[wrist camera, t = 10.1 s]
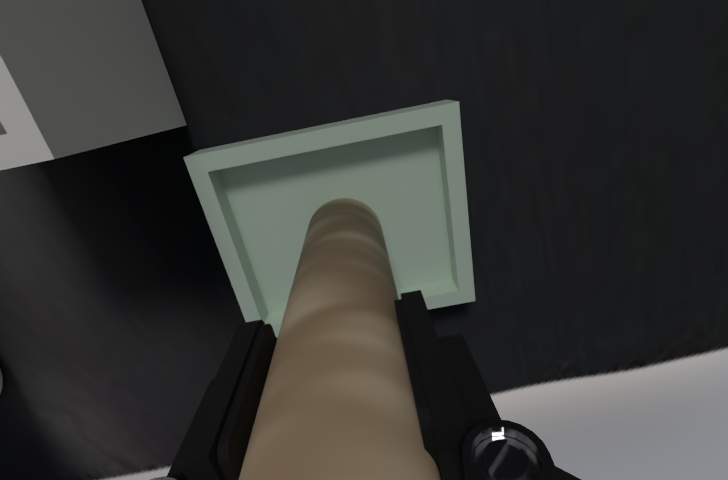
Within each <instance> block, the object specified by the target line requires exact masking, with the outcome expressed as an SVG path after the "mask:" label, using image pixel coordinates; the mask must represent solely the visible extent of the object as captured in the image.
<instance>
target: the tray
mask: <svg viewBox="0 0 728 480" xmlns="http://www.w3.org/2000/svg"><path fill="white" fill-rule="evenodd" d="M183 158H184V161H185V164H186V166H187V169H188V172H189V174H190V177H191V179H192V182H193V185H194V187H195V190H196V192H197V195H198V198H199V200H200V203H201V206H202V208H203V211H204V213H205V216H206V219H207V221H208V224H209V227H210V229H211V232H212V234H213V237H214V240H215V242H216V245H217V247H218V250H219V253H220V255H221V258H222V261H223V263H224V266H225V268H226V271H227V274H228V276H229V279H230V282H231V284H232V287H233V289H234V292H235V295H236V297H237V300H238V303H239V305H240V308H241V310H242V313H243V316H244V318H245V321H246V322H250V321H256V320H263V321H264V323H265V324H271V326H272V328H273V330H274V333H275V336H276V338H277V337H278V335H279V331H280V327H281V324H282V320H283V317H284V313H285V309H286V306H287V302H288V298H289V295H290V291H291V288H292V284H293V280H294V277H295V273H296V269H297V266H298V262H299V258H300V255H301V251H302V248H303V244H304V240H305V237H306V233H307V229H308V226H309V222H310V220H311V218H312V216H313V214H314V213H315V212H316V210H317V209H318V208H319V207H321V206H322V205H323V204H325V203H327V202H329V201H331V200H335V199H340V198H350V199H355V200H358V201H361V202H363V203H365V204H366V205H368V206H369V207H370V208H371V209H372V210H373V211H374V212H375V213H376V215H377V216H378V218H379V221H380V223H381V227H382V231H383V236H384V240H385V244H386V248H387V253H388V257H389V261H390V265H391V269H392V274H393V278H394V282H395V286H396V291H397V295H398V299H401V293H407V292H412V291H417V290H421V292H422V295H423V298H424V301H425V303H426V306H427V309H428V310H429V309H434V308H440V307H445V306H450V305H456V304H461V303H467V302H472V301H475V292H474V279H473V267H472V255H471V243H470V231H469V219H468V206H467V194H466V182H465V170H464V158H463V146H462V133H461V121H460V109H459V101H452V100H443V101H438V102H433V103H428V104H423V105H418V106H413V107H408V108H403V109H398V110H394V111H389V112H384V113H379V114H374V115H369V116H364V117H359V118H354V119H349V120H344V121H339V122H335V123H330V124H325V125H320V126H315V127H310V128H305V129H300V130H295V131H290V132H285V133H280V134H276V135H271V136H266V137H261V138H256V139H251V140H246V141H241V142H236V143H231V144H226V145H221V146H217V147H212V148H207V149H202V150H199V151H196V152H194V153H192V154H190V155H188V156H185V157H183Z"/></svg>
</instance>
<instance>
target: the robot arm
mask: <svg viewBox="0 0 728 480" xmlns="http://www.w3.org/2000/svg"><path fill="white" fill-rule="evenodd" d="M394 304H395V310H396V315H397V320H398V325H399V330H400V334H401V339H402V344H403V349H404V354H405V358H406V363H407V368H408V373H409V377H410V382H411V387H412V392H413V396H414V401H415V406H416V411H417V415H418V420H419V425H420V430H421V434H422V439H423V444H424V449H425V450H426V451H427V452H428V453H429V454H430V456H431V457H432V458H433V460H434V461H435V463H436V465H437V467H438V469H439V473H440V477H441V480H581V479H579V478H577V477H575V476H573V475H571V474H569V473H567V472H565V471H563V470H561V469H560V468H558V467H556V466H555V465H554V463H553V460H552V458H551V455H550V453H549V451H548V450H547V448H546V446H545V444H544V443H543V442H542V440H541V439H539V437H538V436H537V435H536V434H535V433H533V432H532V431H531V430H529V429H527V428H526V427H524V426H522V425H520V424H517V423H514V422H511V421H506V420H501V418H500V416H499V414H498V412H497V410H496V408H495V405H494V403H493V401H492V399H491V396H490V394H489V392H488V390H487V388H486V385H485V383H484V381H483V379H482V377H481V374H480V372H479V370H478V368H477V366H476V364H475V361H474V359H473V357H472V355H471V353H470V350H469V348H468V346H467V344H466V342H465V339H464V338H463V336H462V335H461V334H456V335H450V336H445V337H439V338H438V337H437V334H436V332H435V329H434V326H433V323H432V320H431V318H430V315H429V312H428V309H427V306H426V303H425V301H424V298H423V295H422V292H421V290H417V291H412V292H407V293H401V299H398V300H394ZM276 342H277V339H276V336H275V333H274V330H273V328H272V326H271V324H265V323H264V321H263V320H256V321H250V322H245V323H241V324H240V325H239V326H238V328H237V331H236V333H235V335H234V337H233V340H232V342H231V344H230V346H229V348H228V351H227V353H226V355H225V357H224V360H223V362H222V364H221V366H220V369H219V371H218V373H217V375H216V377H215V379H213V380H212V381H211V382H210V384H209V386H208V388H207V390H206V392H205V394H204V397H203V399H202V401H201V403H200V405H199V408H198V410H197V412H196V414H195V416H194V418H193V421H192V423H191V425H190V427H189V429H188V431H187V434H186V436H185V438H184V440H183V442H182V445H181V447H180V449H179V451H178V453H177V455H176V458H175V460H174V462H173V464H172V466H171V469H170V471H169V473H168V475H167V477H159V478H154V479H151V480H239V476H240V473H241V469H242V465H243V462H244V458H245V455H246V451H247V447H248V444H249V440H250V436H251V433H252V429H253V425H254V422H255V418H256V415H257V411H258V407H259V404H260V400H261V396H262V393H263V389H264V386H265V382H266V378H267V375H268V371H269V367H270V364H271V360H272V357H273V353H274V349H275V346H276Z"/></svg>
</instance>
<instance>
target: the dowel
mask: <svg viewBox="0 0 728 480" xmlns="http://www.w3.org/2000/svg"><path fill="white" fill-rule="evenodd" d="M394 300H398V295H397V291H396V286H395V282H394V278H393V274H392V269H391V265H390V261H389V257H388V253H387V248H386V244H385V240H384V236H383V231H382V227H381V223H380V221H379V218H378V216H377V215H376V213H375V212H374V211H373V210H372V209H371V208H370V207H369V206H368V205H366V204H365V203H363V202H361V201H358V200H355V199H350V198H340V199H335V200H331V201H329V202H327V203H325V204H323V205H322V206H321V207H319V208H318V209H317V210H316V212H315V213H314V214H313V216H312V218H311V220H310V222H309V226H308V229H307V233H306V237H305V240H304V244H303V248H302V251H301V255H300V258H299V262H298V266H297V269H296V273H295V277H294V280H293V284H292V288H291V291H290V295H289V298H288V302H287V306H286V309H285V313H284V317H283V320H282V324H281V327H280V331H279V335H278V338H277V342H276V346H275V349H274V353H273V357H272V360H271V364H270V367H269V371H268V375H267V378H266V382H265V386H264V389H263V393H262V396H261V400H260V404H259V407H258V411H257V415H256V418H255V422H254V425H253V429H252V433H251V436H250V440H249V444H248V447H247V451H246V455H245V458H244V462H243V465H242V469H241V473H240V476H239V480H441V477H440V473H439V469H438V467H437V465H436V463H435V461H434V460H433V458H432V457H431V456H430V454H429V453H428V452H427V451H426V450H425V449H424V444H423V439H422V434H421V430H420V425H419V420H418V415H417V411H416V406H415V401H414V396H413V392H412V387H411V382H410V377H409V373H408V368H407V363H406V358H405V354H404V349H403V344H402V339H401V334H400V330H399V325H398V320H397V315H396V310H395V304H394Z"/></svg>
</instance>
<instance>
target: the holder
mask: <svg viewBox="0 0 728 480" xmlns="http://www.w3.org/2000/svg"><path fill="white" fill-rule="evenodd" d="M185 125H187V124H186V122H185V119H184V116H183V113H182V111H181V108H180V105H179V102H178V100H177V97H176V94H175V92H174V89H173V86H172V83H171V81H170V78H169V75H168V72H167V70H166V67H165V64H164V61H163V59H162V56H161V53H160V50H159V48H158V45H157V42H156V39H155V37H154V34H153V31H152V29H151V26H150V23H149V20H148V18H147V15H146V12H145V9H144V7H143V4H142V1H141V0H0V170H4V169H9V168H14V167H19V166H24V165H29V164H33V163H38V162H43V161H48V160H53V159H57V158H61V157H65V156H69V155H73V154H77V153H80V152H84V151H88V150H92V149H96V148H100V147H104V146H108V145H111V144H115V143H119V142H123V141H127V140H131V139H135V138H139V137H143V136H146V135H150V134H154V133H158V132H162V131H166V130H170V129H174V128H178V127H181V126H185Z"/></svg>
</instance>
